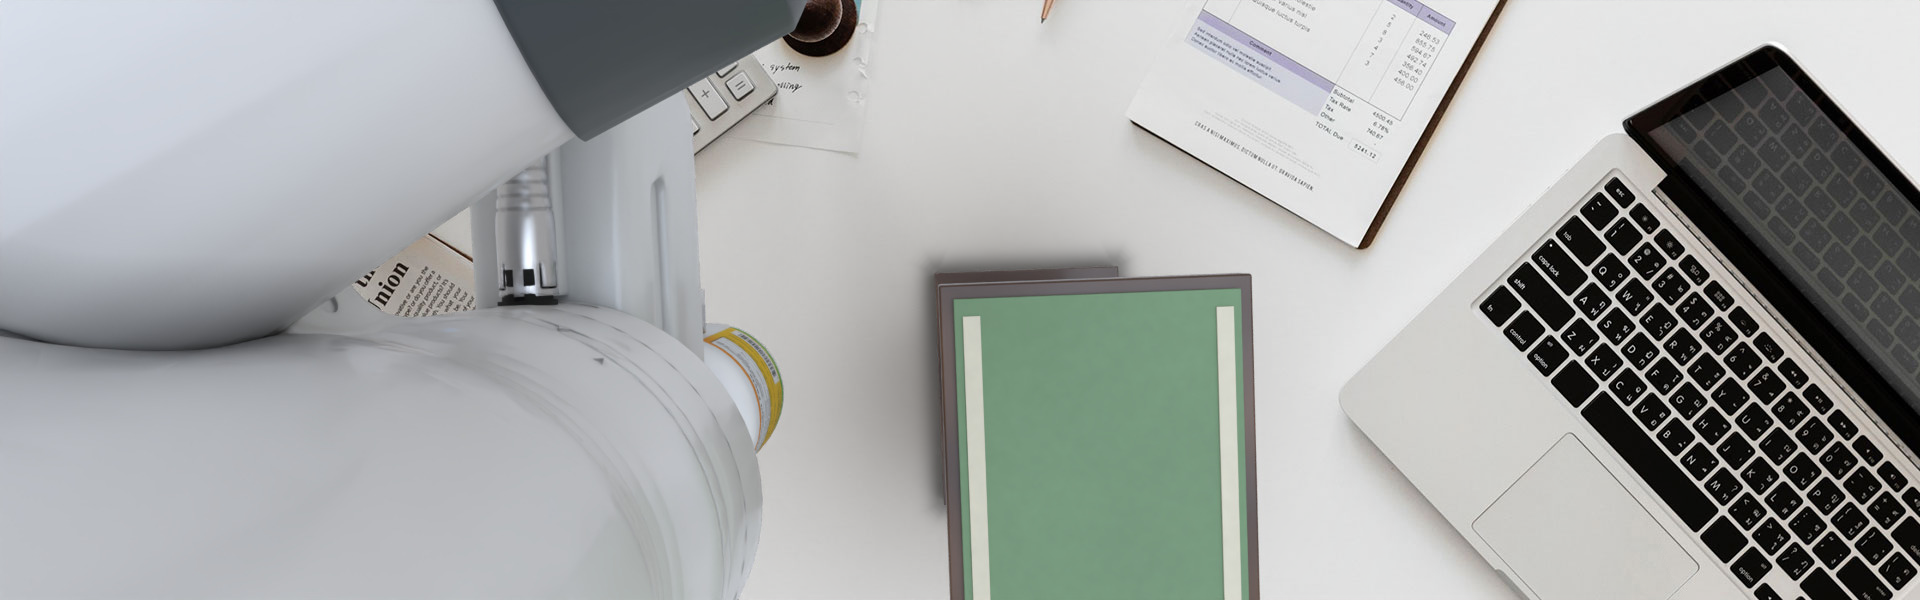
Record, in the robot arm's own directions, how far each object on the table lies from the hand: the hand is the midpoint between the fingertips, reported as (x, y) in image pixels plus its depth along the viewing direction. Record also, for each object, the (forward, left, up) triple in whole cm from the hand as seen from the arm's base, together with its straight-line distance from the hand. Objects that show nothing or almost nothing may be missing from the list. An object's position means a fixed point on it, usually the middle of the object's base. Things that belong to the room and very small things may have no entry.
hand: (686, 413), depth 35 cm
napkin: (+3, +14, -2) cm, 15 cm away
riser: (+3, +14, -30) cm, 33 cm away
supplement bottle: (0, 0, -5) cm, 5 cm away
